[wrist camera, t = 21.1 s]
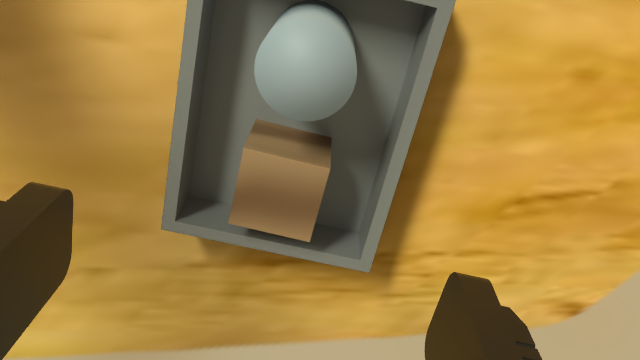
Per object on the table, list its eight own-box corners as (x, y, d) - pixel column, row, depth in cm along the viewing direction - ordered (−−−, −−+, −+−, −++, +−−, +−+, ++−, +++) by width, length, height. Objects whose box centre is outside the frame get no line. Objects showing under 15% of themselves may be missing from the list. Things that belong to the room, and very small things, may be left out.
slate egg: (279, -9, 32) (264, 8, 25) (363, 11, 32) (368, 33, 26) (263, 74, 34) (246, 109, 27) (342, 92, 34) (343, 130, 28)
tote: (212, -70, 31) (195, -68, 27) (443, -13, 32) (457, -5, 28) (178, 200, 38) (161, 229, 35) (366, 240, 39) (369, 272, 36)
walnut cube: (256, 118, 35) (243, 147, 31) (331, 137, 35) (330, 168, 31) (241, 186, 37) (228, 223, 33) (313, 203, 38) (309, 242, 33)
